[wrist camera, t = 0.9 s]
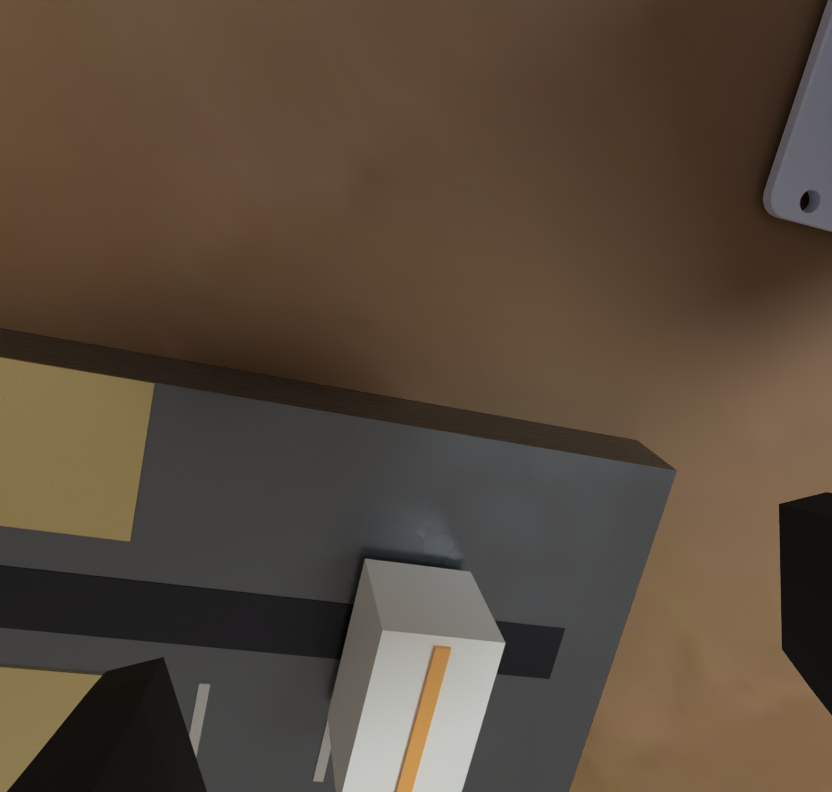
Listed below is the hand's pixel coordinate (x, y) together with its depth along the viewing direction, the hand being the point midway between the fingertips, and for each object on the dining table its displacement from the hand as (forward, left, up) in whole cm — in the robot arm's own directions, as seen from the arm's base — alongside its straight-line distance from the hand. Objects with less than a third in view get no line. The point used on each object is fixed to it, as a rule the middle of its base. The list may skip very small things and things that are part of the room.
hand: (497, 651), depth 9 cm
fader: (-1, +5, -8) cm, 9 cm away
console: (+3, +5, -10) cm, 11 cm away
